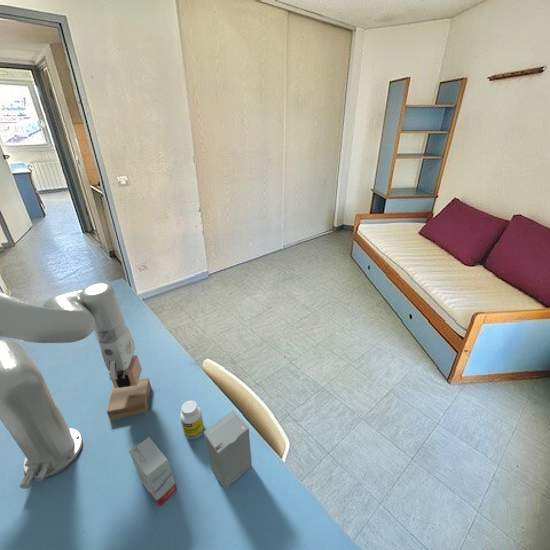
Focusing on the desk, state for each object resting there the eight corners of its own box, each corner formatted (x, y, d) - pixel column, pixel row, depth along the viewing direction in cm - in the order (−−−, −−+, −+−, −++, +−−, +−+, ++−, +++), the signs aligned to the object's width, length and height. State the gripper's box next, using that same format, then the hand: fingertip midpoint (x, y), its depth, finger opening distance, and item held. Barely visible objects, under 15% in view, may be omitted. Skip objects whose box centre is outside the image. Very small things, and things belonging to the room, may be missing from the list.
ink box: (178, 490, 70) (169, 459, 65) (158, 508, 67) (147, 478, 62) (159, 465, 75) (149, 435, 70) (140, 480, 72) (128, 450, 67)
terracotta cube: (137, 385, 86) (131, 370, 83) (114, 388, 86) (108, 373, 83) (141, 369, 92) (136, 354, 89) (121, 372, 91) (115, 357, 88)
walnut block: (147, 413, 89) (144, 404, 87) (110, 421, 87) (106, 411, 85) (151, 386, 97) (148, 377, 95) (117, 393, 95) (114, 384, 93)
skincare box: (237, 447, 79) (232, 406, 72) (254, 468, 74) (251, 427, 67) (209, 470, 74) (200, 428, 67) (225, 494, 69) (218, 452, 62)
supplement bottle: (184, 442, 81) (178, 417, 76) (183, 424, 85) (178, 400, 80) (204, 436, 82) (200, 412, 77) (203, 419, 86) (199, 395, 82)
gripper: (115, 349, 73) (134, 400, 81) (133, 307, 87) (147, 354, 96) (81, 353, 72) (104, 404, 80) (106, 310, 87) (123, 357, 95)
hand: (128, 376), depth 88 cm, fingers closed on terracotta cube, 6 cm apart
